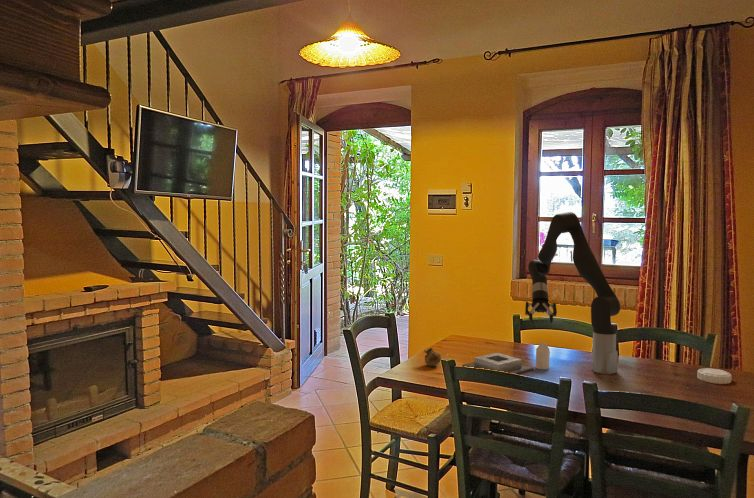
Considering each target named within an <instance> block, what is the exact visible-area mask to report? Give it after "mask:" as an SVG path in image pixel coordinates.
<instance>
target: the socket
mask: <svg viewBox="0 0 754 498" xmlns="http://www.w3.org/2000/svg"><path fill="white" fill-rule="evenodd" d="M473 360H474V361H473V362H468V363H465V364H461V365H462V366H467V367H474V368H484V369H490V370H497V371H504V372H508V373H516V374H517V375H520V374H519V373H521V374H523V373H528V372H531V371H534V370H535V368H534V367H532V366H528V365H525V364H522V359H521V358H519V357H514V356H510V355H506V354H503V353H500V352H493V353H490V354H483V355H480V356H476V357H474V359H473Z"/></svg>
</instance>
